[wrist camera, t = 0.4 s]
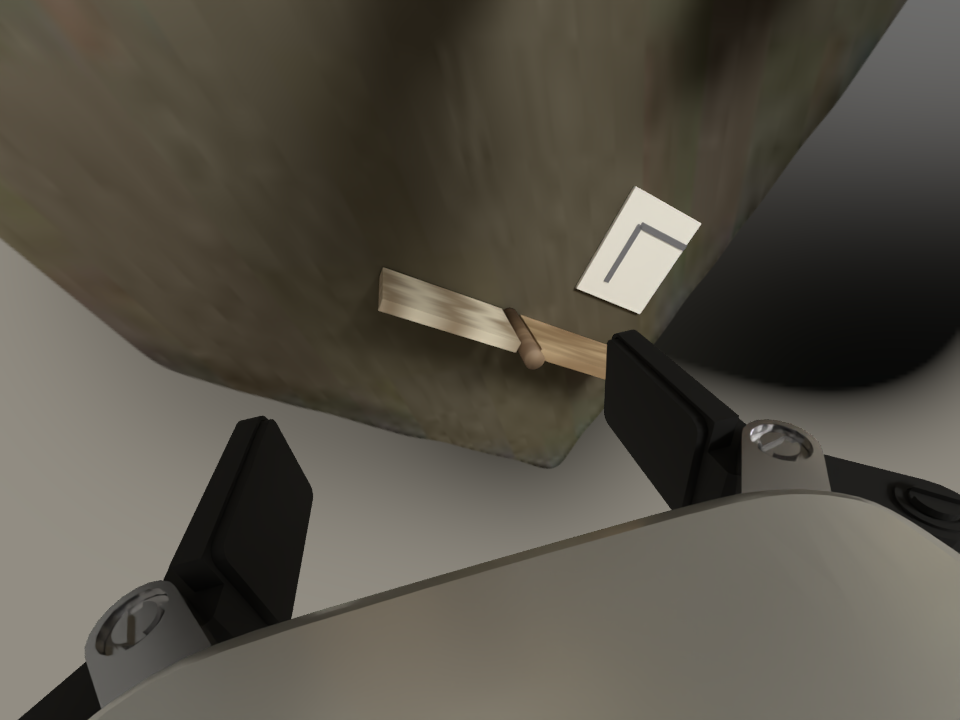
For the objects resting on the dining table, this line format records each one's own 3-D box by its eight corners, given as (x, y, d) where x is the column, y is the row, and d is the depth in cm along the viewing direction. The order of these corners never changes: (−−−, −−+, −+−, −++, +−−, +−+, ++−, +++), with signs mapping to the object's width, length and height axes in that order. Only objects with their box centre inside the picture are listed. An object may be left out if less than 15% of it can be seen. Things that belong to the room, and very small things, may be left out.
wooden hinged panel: (504, 305, 46) (531, 349, 38) (612, 343, 52) (654, 388, 44) (497, 320, 47) (521, 366, 39) (604, 356, 53) (644, 402, 45)
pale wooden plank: (501, 308, 46) (521, 342, 40) (497, 317, 47) (515, 352, 40) (382, 267, 41) (382, 298, 34) (379, 277, 41) (378, 310, 35)
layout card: (633, 185, 42) (636, 186, 41) (699, 222, 45) (701, 223, 45) (575, 287, 47) (576, 288, 46) (638, 312, 51) (640, 314, 50)
